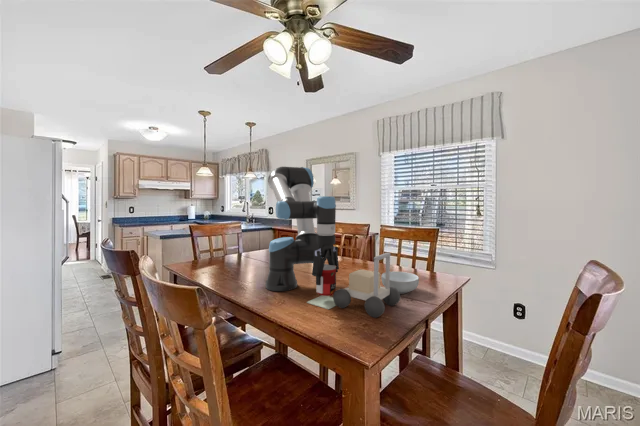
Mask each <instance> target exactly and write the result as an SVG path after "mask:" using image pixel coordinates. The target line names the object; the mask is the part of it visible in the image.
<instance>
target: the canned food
mask: <svg viewBox="0 0 640 426" xmlns="http://www.w3.org/2000/svg"><path fill="white" fill-rule="evenodd" d="M321 277H323V293H322V294H321V293H317V294H318V295H319V296H330V297H332V296H333V295H334V292H335V291H336V290H337V272H336V266H334V265H329V264H327V263H325V264H324V268H323V272H322V276H321Z"/></svg>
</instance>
